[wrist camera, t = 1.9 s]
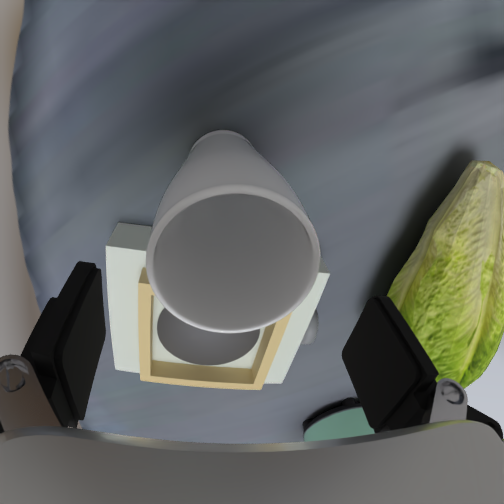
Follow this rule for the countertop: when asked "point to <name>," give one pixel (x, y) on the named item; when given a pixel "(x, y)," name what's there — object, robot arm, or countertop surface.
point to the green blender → (338, 423)
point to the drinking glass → (230, 240)
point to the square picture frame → (194, 329)
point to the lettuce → (459, 277)
